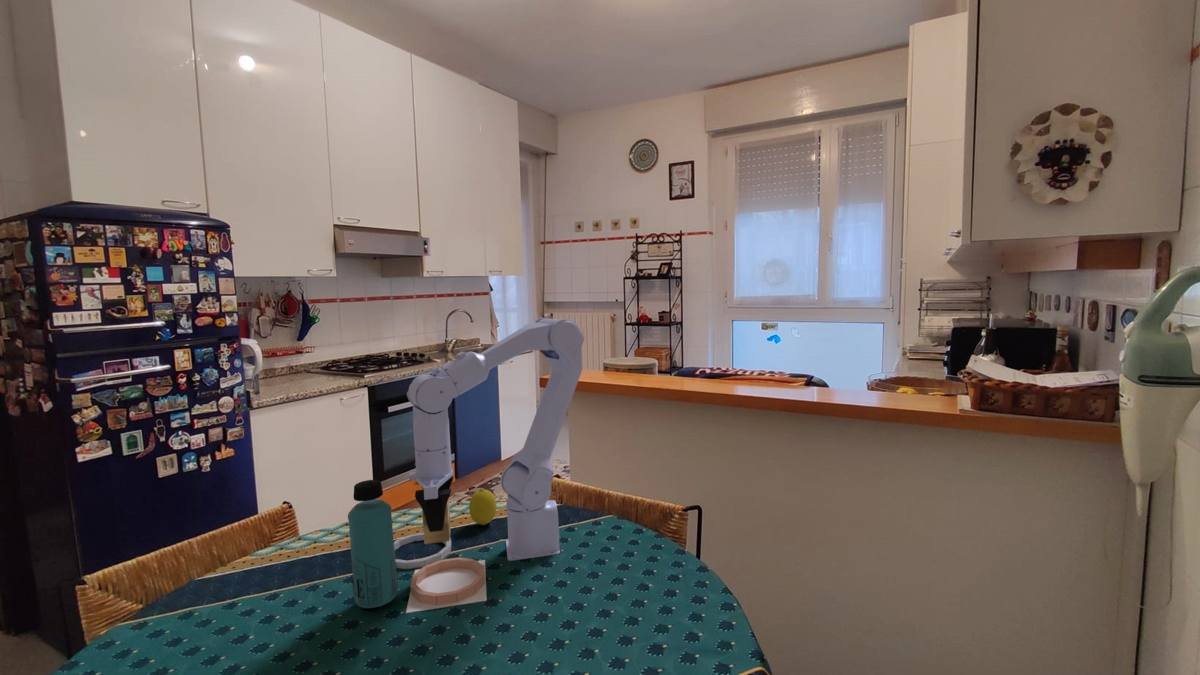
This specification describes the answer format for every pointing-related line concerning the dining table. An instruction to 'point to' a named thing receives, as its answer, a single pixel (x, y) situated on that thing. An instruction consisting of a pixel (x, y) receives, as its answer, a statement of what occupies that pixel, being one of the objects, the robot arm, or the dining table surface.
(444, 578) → the card
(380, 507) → the beverage bottle
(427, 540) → the ochre block
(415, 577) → the ring
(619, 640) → the dining table surface
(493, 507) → the lemon
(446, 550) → the ring
